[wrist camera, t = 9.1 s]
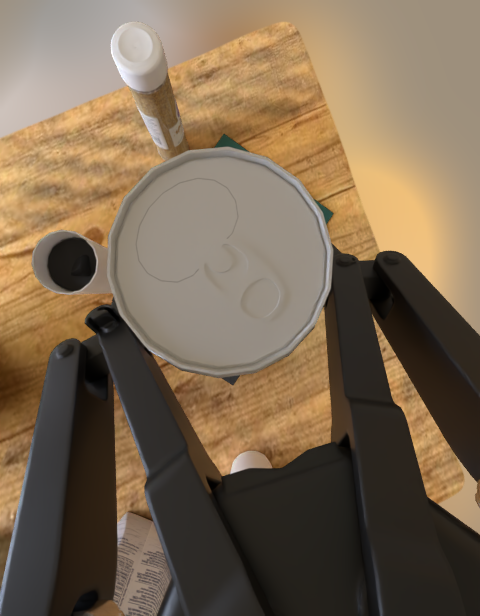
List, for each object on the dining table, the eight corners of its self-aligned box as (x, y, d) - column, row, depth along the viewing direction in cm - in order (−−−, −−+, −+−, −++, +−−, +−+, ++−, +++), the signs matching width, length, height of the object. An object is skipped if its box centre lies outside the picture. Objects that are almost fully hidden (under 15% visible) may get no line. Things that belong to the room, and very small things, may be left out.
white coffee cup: (135, 249, 33) (95, 227, 23) (139, 294, 33) (101, 292, 23) (89, 252, 33) (27, 231, 23) (93, 297, 33) (35, 296, 23)
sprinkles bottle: (194, 157, 33) (171, 59, 20) (166, 170, 33) (123, 81, 19) (180, 128, 33) (146, 9, 19) (152, 141, 33) (98, 30, 19)
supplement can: (166, 291, 22) (25, 269, 7) (224, 228, 22) (216, 67, 7) (228, 347, 22) (228, 446, 7) (285, 286, 22) (403, 255, 7)
